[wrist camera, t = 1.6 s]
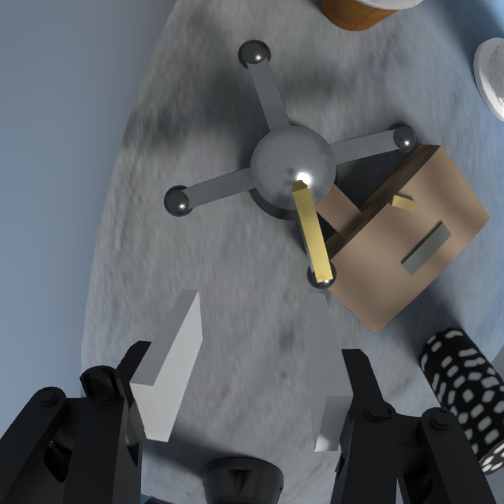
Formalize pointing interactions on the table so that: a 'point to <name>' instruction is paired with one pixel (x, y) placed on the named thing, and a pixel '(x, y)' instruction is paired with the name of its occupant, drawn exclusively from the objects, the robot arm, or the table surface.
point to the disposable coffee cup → (362, 11)
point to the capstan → (289, 167)
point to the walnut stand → (400, 234)
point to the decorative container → (491, 74)
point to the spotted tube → (468, 392)
